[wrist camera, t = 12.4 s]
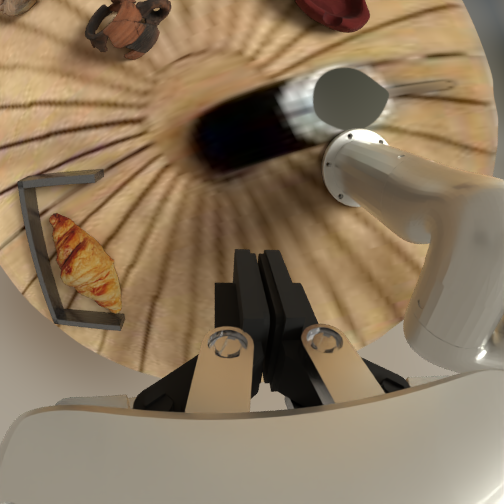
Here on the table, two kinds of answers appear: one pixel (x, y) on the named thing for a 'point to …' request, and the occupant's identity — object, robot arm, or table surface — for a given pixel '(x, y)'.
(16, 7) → the oil lamp
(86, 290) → the croissant
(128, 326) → the table surface
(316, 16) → the ashtray
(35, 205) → the bent metal bracket
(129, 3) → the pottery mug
